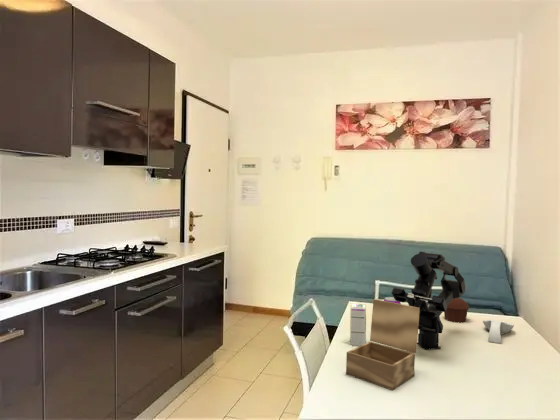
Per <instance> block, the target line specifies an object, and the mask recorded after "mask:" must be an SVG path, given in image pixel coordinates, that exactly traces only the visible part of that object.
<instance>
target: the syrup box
mask: <svg viewBox="0 0 560 420" xmlns="http://www.w3.org/2000/svg"><path fill="white" fill-rule="evenodd" d="M349 318H350V320H349V322H350V325H349V326H350V329H349V330H350V331H349V333H350V337H349V338H350V339H349V341H350V342H349V343H350V344H349V345H351V346H357V347H359V346H361V345H363V344H365V343H367V340H366V339H367V336H366V335H367V334H366V333H367V305H366V304H364V303H363V304H362V303H351V304H350V316H349Z"/></svg>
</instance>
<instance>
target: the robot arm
mask: <svg viewBox="0 0 560 420" xmlns="http://www.w3.org/2000/svg"><path fill="white" fill-rule="evenodd" d="M410 263H411V265H412V267H413V269H414V271H415V273H416V274H417V279H414V280H415V281H414V283H415V284H414V287H413V288H412V289H411V291H410V292H408V293H407V292H406V291H405V288H401V287H396V286H395V287H394V288H392V290H391V292H390V293H391V294H392V297H394V299H395V300H396V301H399V302H400V303H407V305H408V306H412V307H417V308H420V312H419V325H418V332H419V333H418V337H417V346H419V347H420V348H422V349H424V350H427V351H428V350H441V349H442V348H441V346H439V338H440V337H439V334H443V330H444V325H443V322H442V320H441V318H440V316H441V315H442V313H444V312H446V309H447V306H448V305H449V303H450V302H451V301H452V300H453V299H455V298H461V297H462V296H463V295H464V293H465V292H466V283H465V278H464V277H463V276H462V275H461V273H460V272H459V267H458V266H456V265H453V264H451V263H449V262H448V261H446V258H445V256H444V255H443V254H442V253H441V254H440V253H430V252H425V251H419V252H418V253H416V254H415V255H413V256H412V257H411V258H410ZM435 270H436V271H438V272H440V273H442V275H443V276H442V278H441V280H440V285H441V288H442V290H441V292H440V293H439V294H438V295H432V292H433V286H434V283H435V280H437V279H438V276H437V272H436V271H435ZM446 276H453V277H454V279H455V280H452V279H446Z"/></svg>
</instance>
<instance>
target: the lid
mask: <svg viewBox="0 0 560 420" xmlns="http://www.w3.org/2000/svg"><path fill="white" fill-rule="evenodd" d="M372 300H373V301H372V310H371V311H372V313H371V325H370V334H369V335H370V336H369V337H370V338H369V342H374V343H377V344H381V345H385V346H388V347H392V348H396V349H399V350H403V351H406V352H410V353H414V354H416V353H417V350H418V349H417V347H418V345H417V343H418V334H419V333H418V332H419V329H418V325H419V312H420V308H417V307H412V306H409V305H408V304H402V303H401V304H398V303H393V302H387V301H384V300H381V299H377V298H373V299H372Z"/></svg>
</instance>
